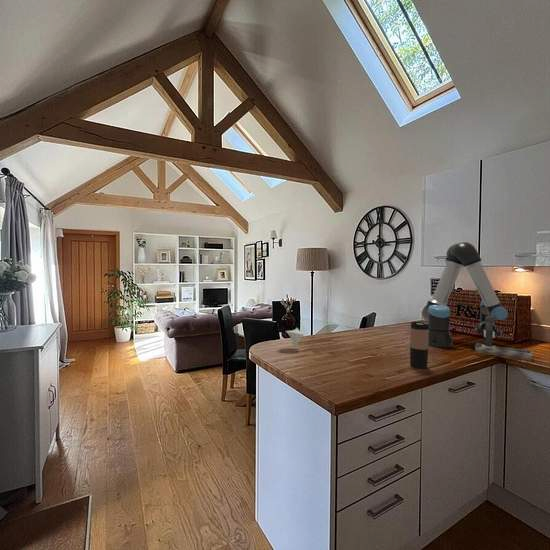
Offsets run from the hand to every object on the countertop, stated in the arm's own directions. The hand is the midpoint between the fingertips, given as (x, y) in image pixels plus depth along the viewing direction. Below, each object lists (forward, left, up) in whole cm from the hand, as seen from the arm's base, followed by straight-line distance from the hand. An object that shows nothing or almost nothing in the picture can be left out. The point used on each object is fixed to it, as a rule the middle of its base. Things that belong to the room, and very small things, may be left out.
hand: (489, 334), depth 165 cm
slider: (-5, +3, -9) cm, 11 cm away
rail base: (-2, +8, -11) cm, 14 cm away
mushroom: (0, -103, -11) cm, 104 cm away
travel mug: (+23, -46, -11) cm, 53 cm away
